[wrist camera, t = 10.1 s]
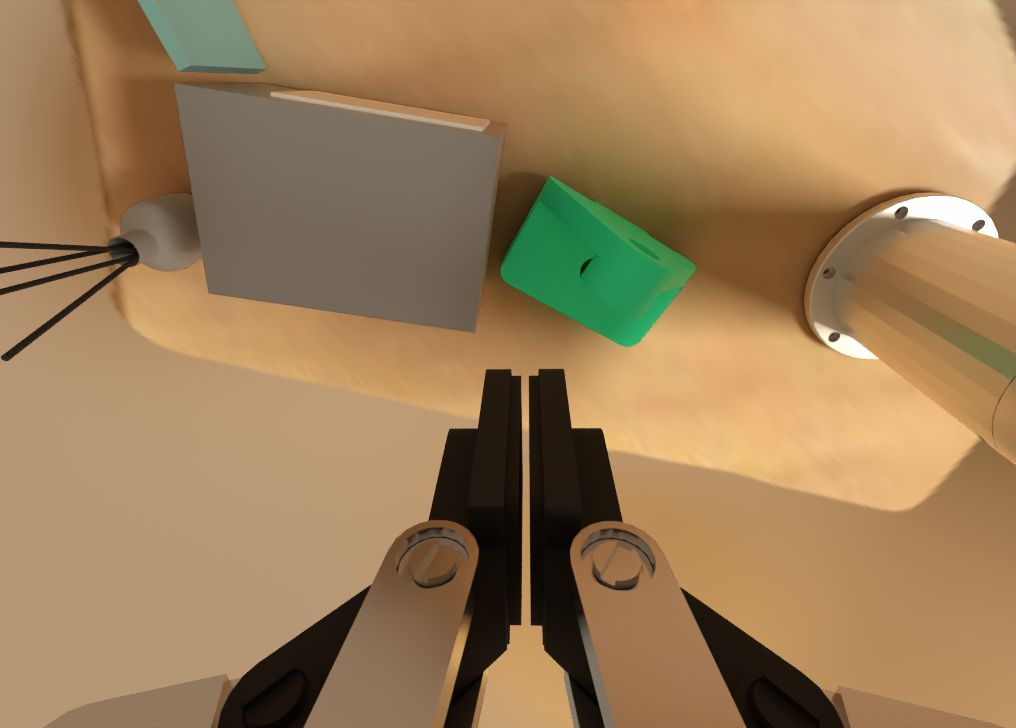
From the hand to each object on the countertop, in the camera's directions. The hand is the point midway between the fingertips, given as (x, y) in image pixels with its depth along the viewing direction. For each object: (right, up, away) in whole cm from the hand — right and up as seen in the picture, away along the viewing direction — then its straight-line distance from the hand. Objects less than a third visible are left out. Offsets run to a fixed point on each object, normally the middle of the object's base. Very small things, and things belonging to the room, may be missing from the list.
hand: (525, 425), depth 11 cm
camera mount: (+6, +9, +26) cm, 28 cm away
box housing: (-9, +14, +24) cm, 29 cm away
